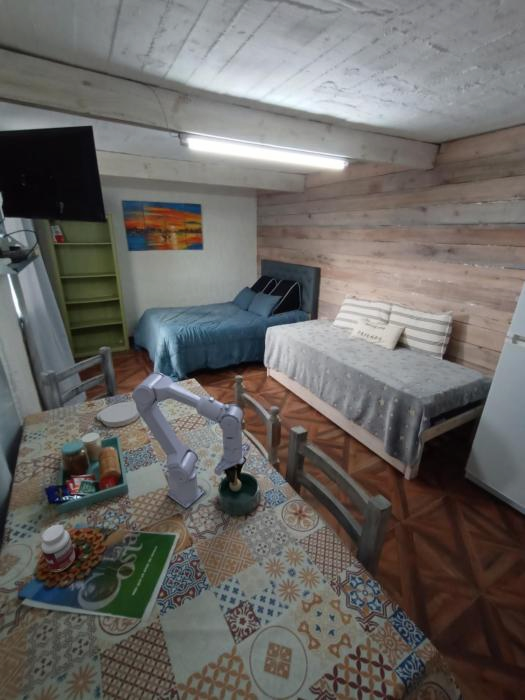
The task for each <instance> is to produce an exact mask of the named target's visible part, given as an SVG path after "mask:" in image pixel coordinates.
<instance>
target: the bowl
mask: <svg viewBox="0 0 525 700" xmlns="http://www.w3.org/2000/svg"><path fill="white" fill-rule="evenodd" d="M237 479H238V480H240V482H241V488H240V490H239V491H236V492H234V491H232V490H231V489H230V486H229V485H230V482H229V481H228V479H227V476H226V475H225V476H224V477H223V478H222V479H221V480H220V482H219V483H218V486H217V487H218V488H217V492H218V493H217V495H218V496H217V497H218V504H219V506H220V508H221V509H222V511H223V512H225V513H226V514H228V515H231V516H239V517H240V516H245V515H248V514H250V513H251V512H253V511H254V510H255V509H256V508H257V507H258V504H259V502H260V484H259V481H258V479H257V478H256V477H255V476H254V475H252V474H250V473H247V472H244V471H243V472H242V471H241V474H240V477H239V478H237Z"/></svg>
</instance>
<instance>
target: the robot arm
mask: <svg viewBox="0 0 525 700" xmlns="http://www.w3.org/2000/svg"><path fill="white" fill-rule="evenodd" d="M131 398H132V400H133V401H134V403H136V408H137V411H138V412H139V414H140V415H139V416H140V417H141V419H142V420H143V421H144V423H145V424H146V426H147V427H148V429H149V431H150V432H151V434H152V435H153V436H154V438H155V440H156V441H157V443H158V444H159V446H160V447H161V449H162V450H163V452H164V453H165V455H166V468H167V470H168V476H167V483H168V490H169V492H168V493H167V496H168V497H170V499H173V501H175V502H176V503H178V504H179V505H181V506H182V507H183V508H185V509H187V508H189V507H190V506H191V505H192V504H193V503H194V502H196V501H197V500H198V499H200V497H201V496H203V494H204V493H205V492H204V490H202V489H201V488H200V487H199V486H198V485H199V484H198V476H197V473H198V472H197V469H196V464H197V463H198V461H199V455H198V453H197V452H196V451H195V450H194V449H192V448H191V447H190V445H189V444H183V443H182V442H181V440H180V439H179V437H178V435H177V434H176V432H175V431H174V429H173V428H172V426H171V425H170V423H169V421H168V420H167V418H166V416H165V415H164V414H163V412H162V410H161V409H160V407H159V406H158V403H161V402H164V401H167V400H169V399H170V400H173V401H176V402H178V403H181V404H183V405H186V406H189V407H191V408H194V409H195V410H196V413H197V414H198V415H199V416H202V417H204V418H205V419H208V420H210V421H212V422H215V423H217V424H218V426H219V428H220V430H222V453H223V454H222V456H221V458H220V460H219V461H218V463H217V464H216V466H215V467H214V468H213V469H214V474H215V475H216V476H219V477H220V476H222V474H223V473H222V472H224V474H225V477H226V476H227V479H228V481H229V482H231V483H232V484H233V483H234V482H235V474H236V471H237V478H239V477H240V474H241V472H242V470H243V467H244V465H245V464H246V463H247V458H246V457H245V455H246V453H247V452H249V451H250V450H251V445H250V444H249V443H247V442H244V443H243V432H242V431H243V429H242V419H243V418H244V417H243V416H244V412H243V409H242V408H241V407H240V406H238V405H237V404H235V403H230V404H228V403H226V404H225V403H223V402H221V401H220V400H217V399H215V397H214V396H208V395H205V396H202V397H201V396H199V395H198V394H196V393H194V392H192V391H190V390H188V389H186V388H185V387H183V386H181V385H179V384H177V383H176V382H174V381H173V379H172V378H171V377H170V376H169V375H165V374H164V373H162V372H159V371H152V372H151V373H150V374H149V375H148V376H147V377H146V378H145V379H144V380H143V381H141V382H140V383H139V384H138V385H137V386H135V387H134V389H133V391H132V394H131ZM234 465H237V468H236V467H234Z"/></svg>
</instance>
